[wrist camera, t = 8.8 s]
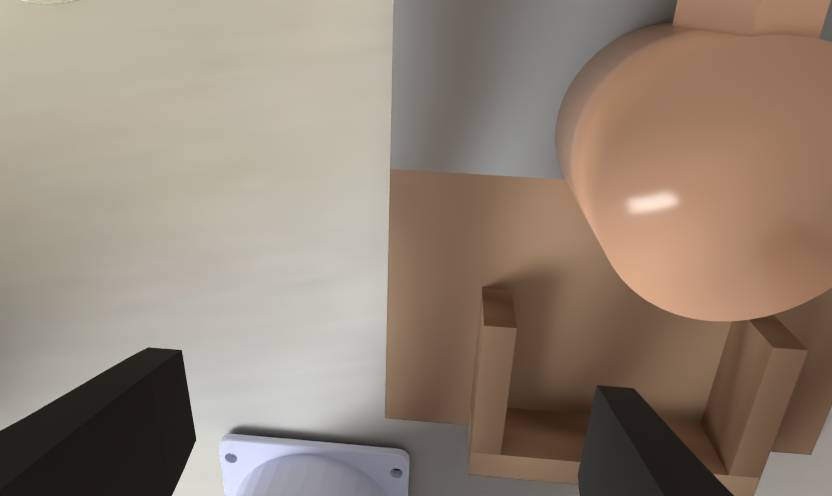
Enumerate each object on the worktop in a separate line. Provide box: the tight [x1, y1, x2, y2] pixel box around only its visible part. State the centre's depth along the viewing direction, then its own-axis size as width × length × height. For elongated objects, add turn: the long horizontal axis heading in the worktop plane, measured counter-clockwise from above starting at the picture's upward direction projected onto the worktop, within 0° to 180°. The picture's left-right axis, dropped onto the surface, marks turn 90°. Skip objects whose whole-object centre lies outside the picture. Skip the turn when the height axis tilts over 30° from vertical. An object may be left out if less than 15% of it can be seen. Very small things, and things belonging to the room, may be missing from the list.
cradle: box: [385, 0, 832, 496], centre depth 17 cm, size 16×20×3 cm
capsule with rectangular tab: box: [555, 0, 832, 322], centre depth 14 cm, size 6×9×6 cm, turn 178°
